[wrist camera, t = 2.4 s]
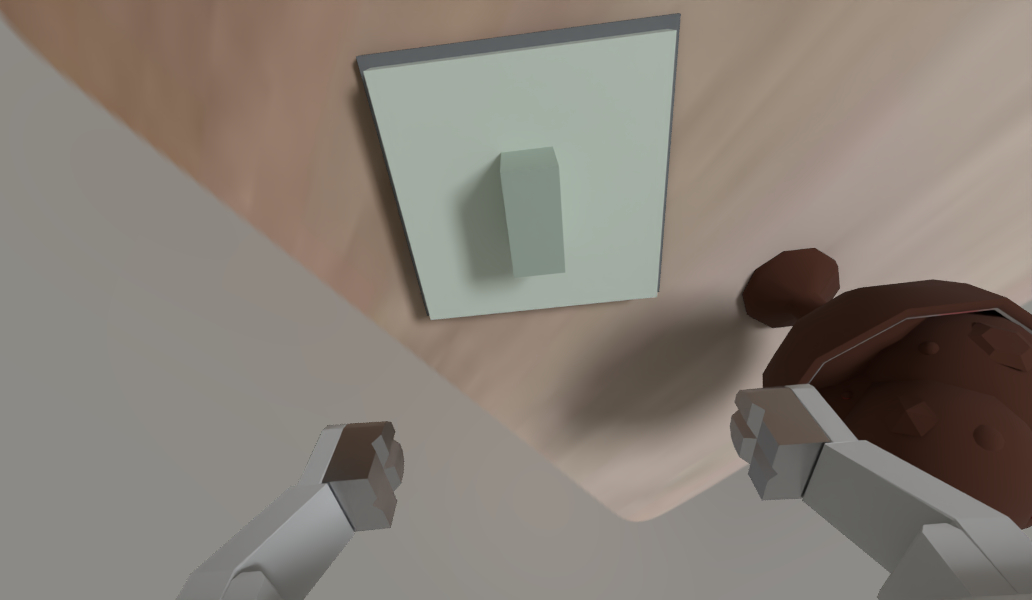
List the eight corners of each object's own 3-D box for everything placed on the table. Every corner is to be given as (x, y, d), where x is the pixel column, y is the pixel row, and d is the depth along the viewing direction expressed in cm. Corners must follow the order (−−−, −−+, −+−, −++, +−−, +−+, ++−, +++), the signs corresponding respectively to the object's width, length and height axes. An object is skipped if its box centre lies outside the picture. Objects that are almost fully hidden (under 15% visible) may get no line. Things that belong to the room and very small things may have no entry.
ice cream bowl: (719, 377, 31) (863, 631, 18) (680, 248, 25) (849, 485, 13) (885, 323, 29) (1181, 572, 16) (883, 167, 23) (1336, 362, 10)
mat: (358, 55, 20) (355, 56, 19) (677, 13, 19) (680, 13, 19) (428, 311, 27) (427, 315, 27) (657, 288, 27) (659, 292, 26)
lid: (370, 68, 20) (340, 81, 16) (667, 28, 19) (703, 34, 15) (433, 308, 27) (422, 353, 23) (651, 285, 26) (673, 329, 23)
